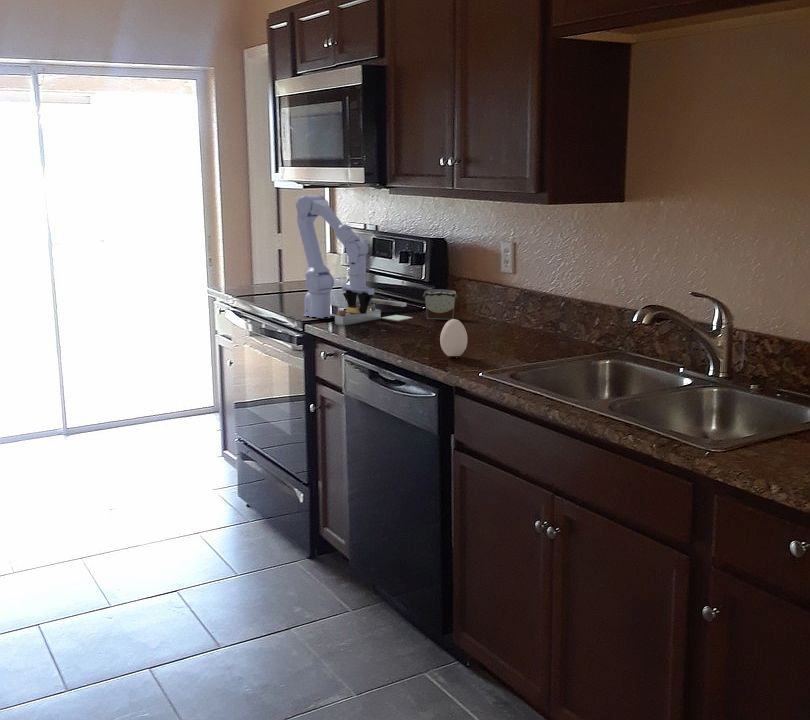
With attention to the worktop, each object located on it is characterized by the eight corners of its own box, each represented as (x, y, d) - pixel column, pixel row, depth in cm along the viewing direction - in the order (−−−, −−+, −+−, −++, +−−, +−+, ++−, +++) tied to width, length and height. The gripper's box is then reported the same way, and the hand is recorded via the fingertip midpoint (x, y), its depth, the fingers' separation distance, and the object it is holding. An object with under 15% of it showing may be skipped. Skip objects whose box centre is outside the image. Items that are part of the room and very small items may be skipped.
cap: (346, 311, 322) (345, 305, 321) (359, 309, 327) (359, 303, 326) (355, 313, 318) (355, 307, 318) (369, 310, 323) (369, 304, 323)
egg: (450, 353, 270) (451, 315, 268) (472, 357, 266) (473, 318, 263) (434, 358, 264) (434, 319, 262) (456, 361, 260) (457, 322, 257)
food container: (457, 316, 333) (458, 289, 331) (456, 319, 327) (457, 292, 325) (424, 316, 334) (424, 289, 332) (423, 318, 328) (423, 291, 326)
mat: (381, 318, 328) (381, 317, 328) (396, 315, 334) (396, 314, 334) (397, 321, 323) (397, 320, 323) (412, 318, 329) (412, 317, 329)
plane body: (335, 324, 318) (334, 307, 316) (372, 317, 331) (372, 301, 330) (343, 325, 315) (342, 308, 314) (380, 318, 329) (380, 302, 327)
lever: (402, 306, 317) (402, 303, 317) (368, 302, 327) (367, 299, 327) (407, 306, 319) (407, 302, 319) (372, 301, 329) (372, 298, 329)
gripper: (380, 275, 318) (380, 313, 321) (351, 271, 327) (351, 308, 330) (366, 277, 313) (366, 316, 316) (337, 273, 322) (337, 311, 325)
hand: (358, 312), depth 323 cm, fingers closed on cap, 5 cm apart
